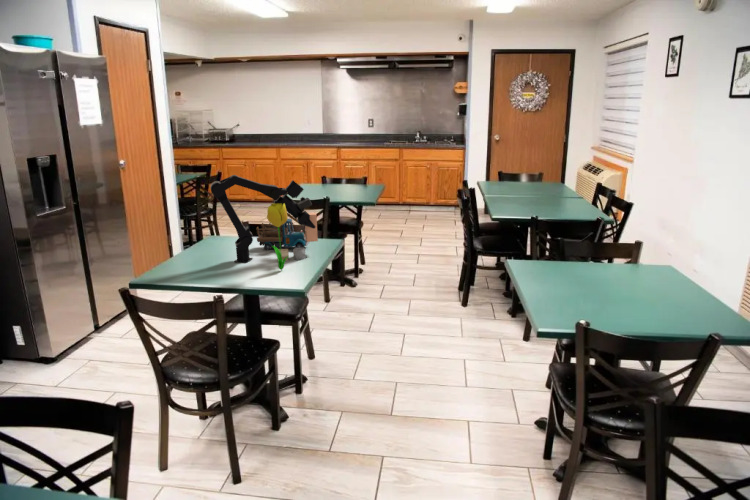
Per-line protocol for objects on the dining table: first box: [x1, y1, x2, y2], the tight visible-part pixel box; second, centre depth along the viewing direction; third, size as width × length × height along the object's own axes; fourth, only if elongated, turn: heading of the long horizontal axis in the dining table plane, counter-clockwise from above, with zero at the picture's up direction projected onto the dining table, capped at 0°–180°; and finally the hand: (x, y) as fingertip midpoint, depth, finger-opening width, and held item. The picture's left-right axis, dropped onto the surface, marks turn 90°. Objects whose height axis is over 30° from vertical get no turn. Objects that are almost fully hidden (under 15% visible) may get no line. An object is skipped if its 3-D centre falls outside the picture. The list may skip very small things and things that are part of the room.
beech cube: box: [278, 248, 290, 262], centre depth 249 cm, size 4×4×4 cm
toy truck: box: [255, 218, 310, 251], centre depth 268 cm, size 11×25×15 cm, turn 86°
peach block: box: [304, 212, 319, 243], centre depth 255 cm, size 5×5×13 cm
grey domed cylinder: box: [292, 247, 307, 261], centre depth 251 cm, size 6×6×4 cm
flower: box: [266, 202, 289, 272], centre depth 229 cm, size 9×8×30 cm
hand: (313, 226), depth 255 cm, fingers closed on peach block, 5 cm apart
